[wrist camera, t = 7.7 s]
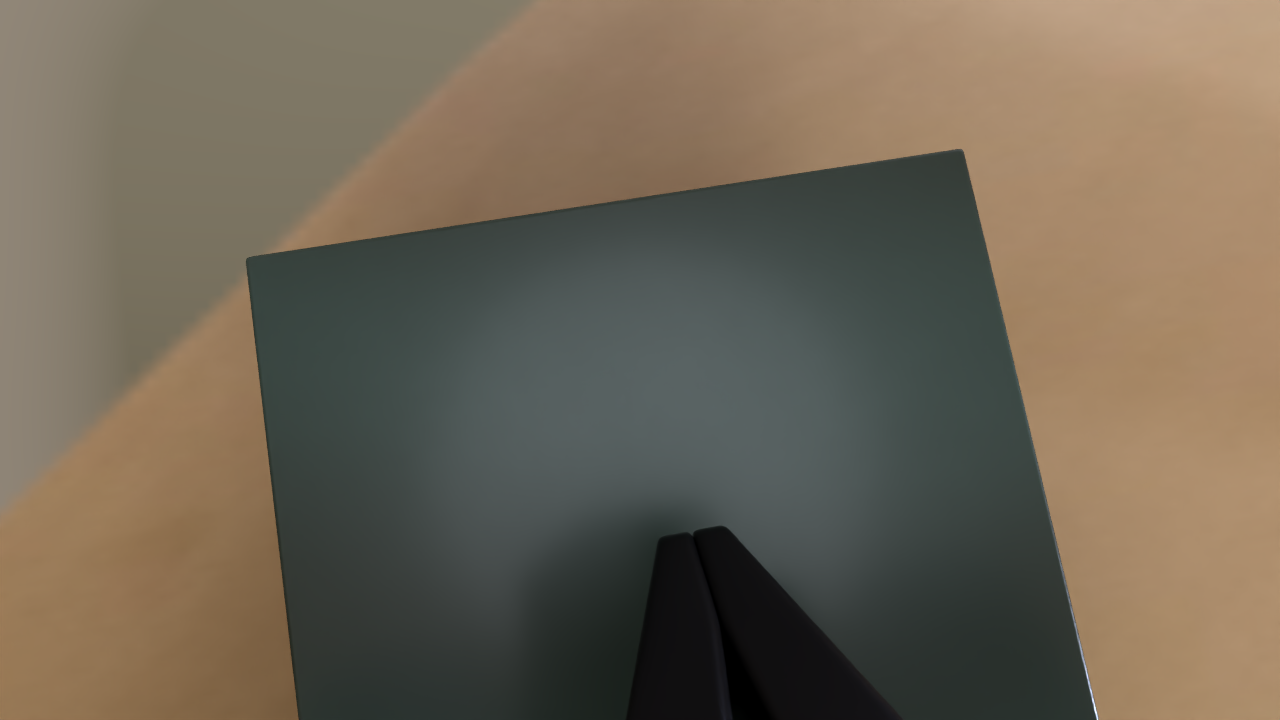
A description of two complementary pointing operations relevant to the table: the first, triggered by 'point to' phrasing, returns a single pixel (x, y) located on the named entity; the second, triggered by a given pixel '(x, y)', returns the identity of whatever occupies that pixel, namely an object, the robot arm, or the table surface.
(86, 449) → the table surface
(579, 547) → the lid
